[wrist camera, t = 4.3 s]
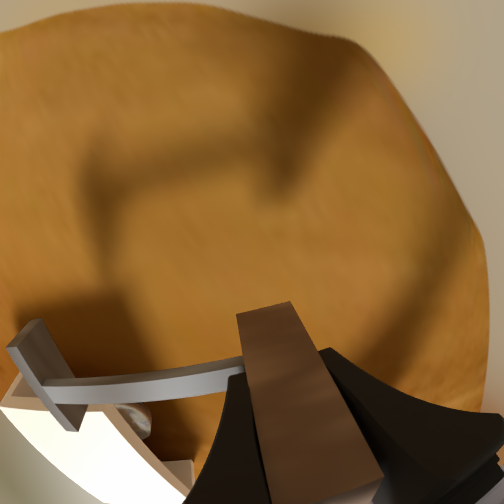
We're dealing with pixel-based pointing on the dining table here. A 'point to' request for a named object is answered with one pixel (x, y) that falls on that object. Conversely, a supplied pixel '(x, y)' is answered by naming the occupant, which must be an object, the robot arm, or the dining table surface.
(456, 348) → the dining table surface
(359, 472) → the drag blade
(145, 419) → the grey round disc
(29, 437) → the white bridge block
